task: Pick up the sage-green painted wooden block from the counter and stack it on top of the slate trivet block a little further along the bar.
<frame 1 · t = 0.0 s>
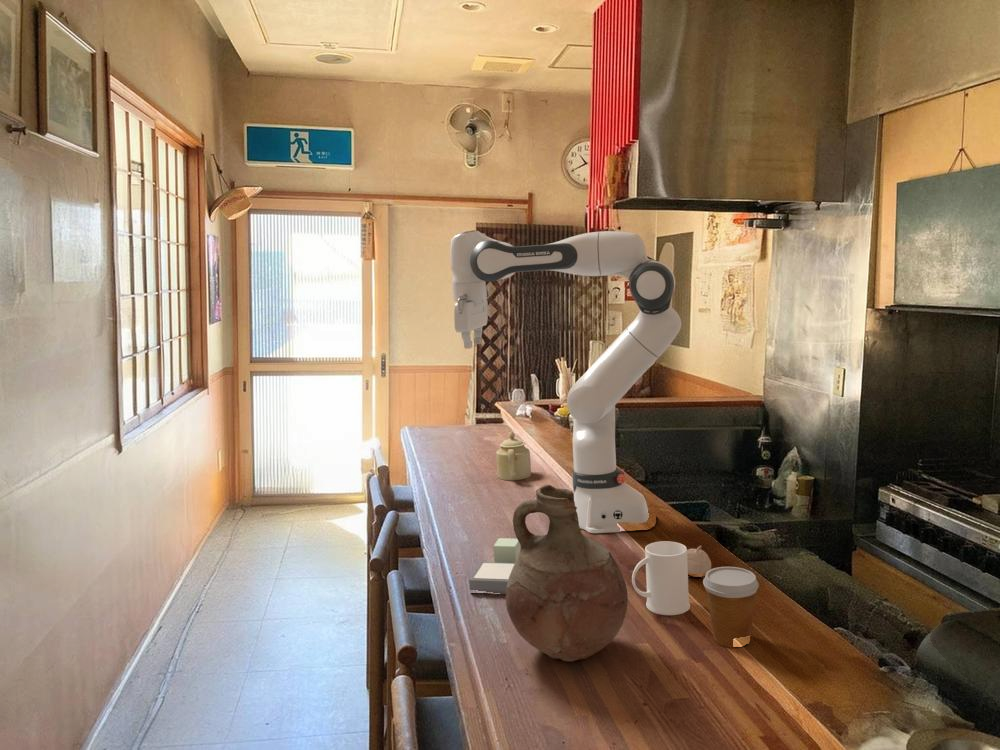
hand: (473, 346, 208), 48 cm above the worktop, fingers open, 8 cm apart
jug: (569, 652, 140), on the worktop
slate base: (498, 584, 171), on the worktop
sugar bowl: (516, 477, 255), on the worktop
green block: (508, 567, 180), on the worktop
garlic bulb: (696, 577, 169), on the worktop
mug: (660, 608, 155), on the worktop
disposable coffee cup: (732, 640, 140), on the worktop
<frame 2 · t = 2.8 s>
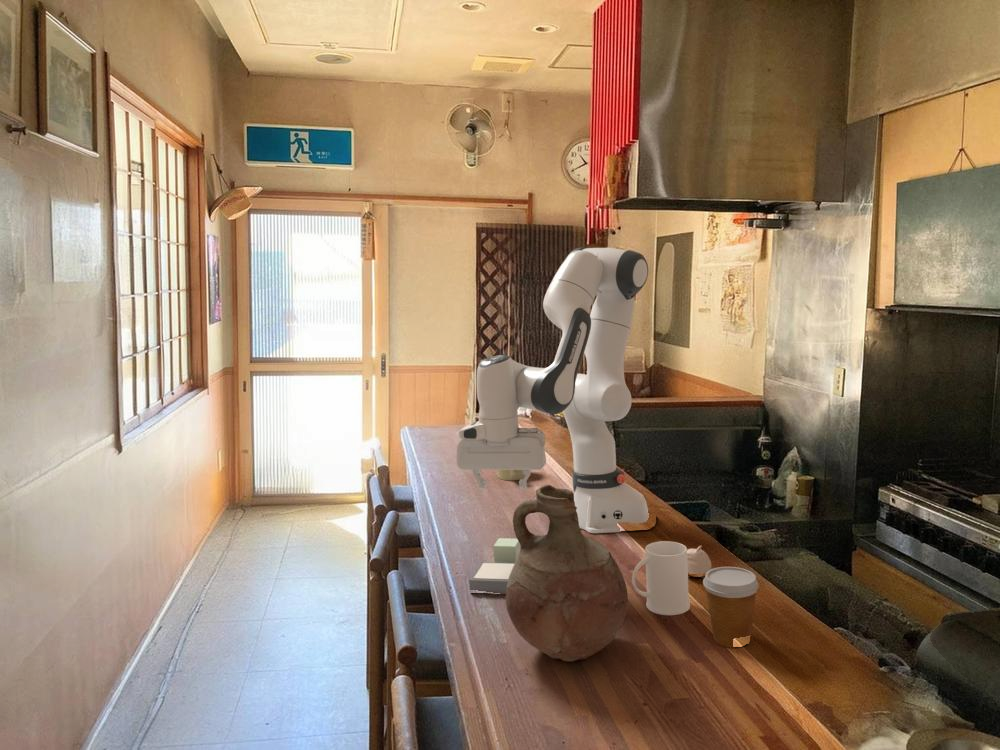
hand: (502, 487, 178), 19 cm above the worktop, fingers open, 8 cm apart
nothing on the worktop moved.
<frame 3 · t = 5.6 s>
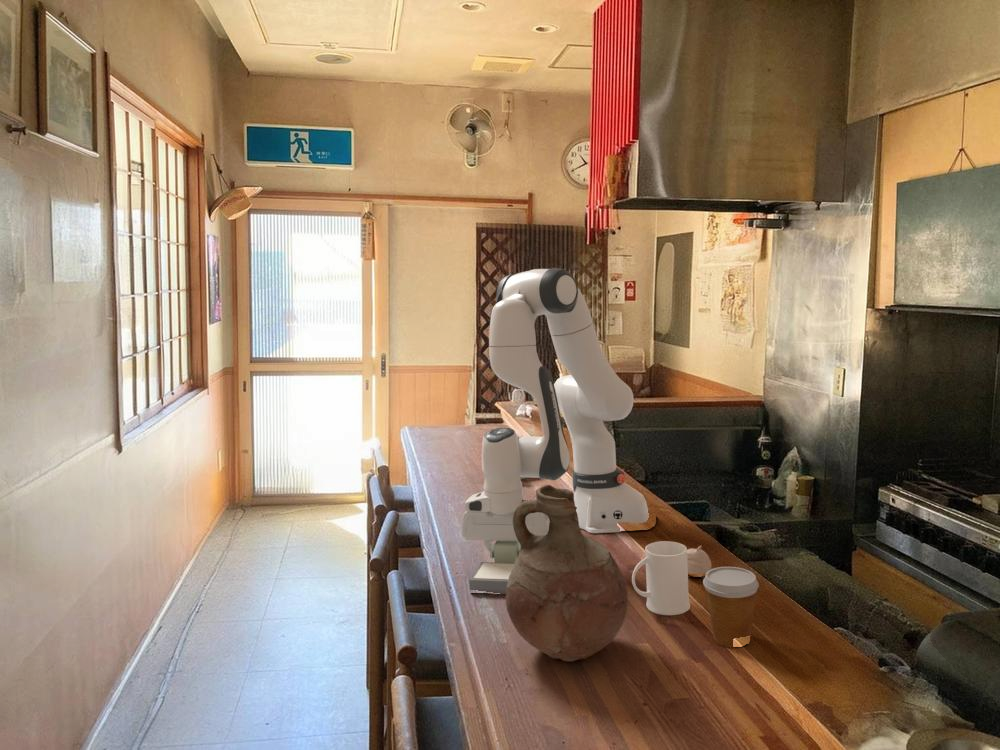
hand: (507, 558, 180), 2 cm above the worktop, fingers closed on green block, 5 cm apart
green block: (508, 566, 180), on the worktop, touching gripper
everything else where it was.
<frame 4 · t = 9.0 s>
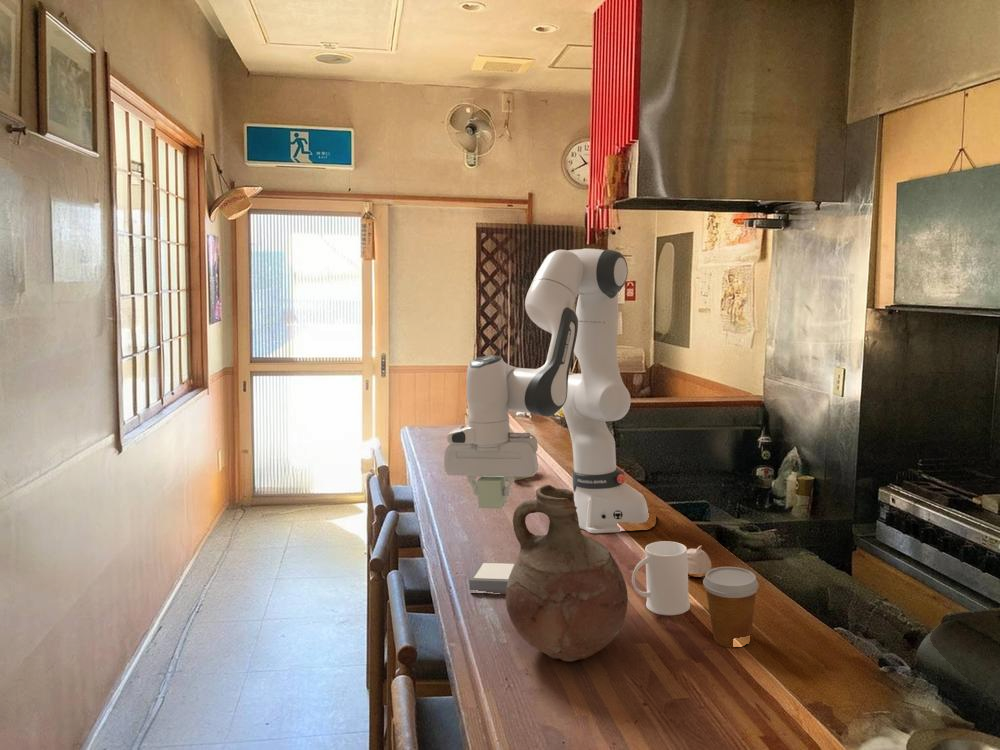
hand: (492, 495, 169), 20 cm above the worktop, fingers closed on green block, 5 cm apart
green block: (492, 504, 169), point 18 cm above the worktop, touching gripper
everything else where it was.
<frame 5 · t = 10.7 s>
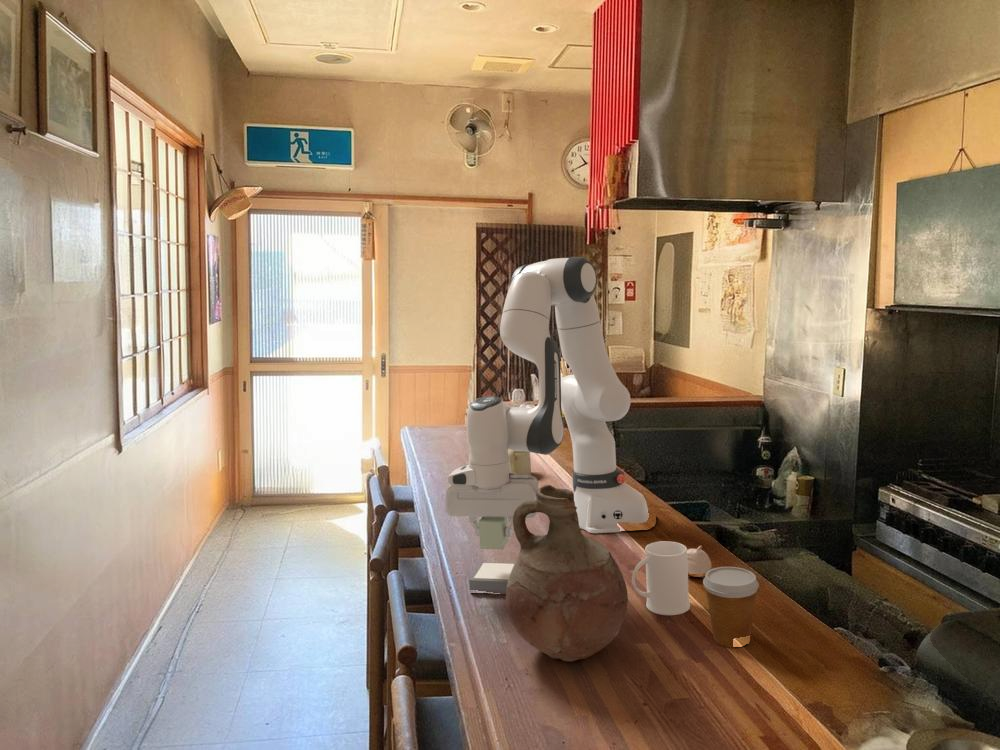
hand: (493, 535, 169), 11 cm above the worktop, fingers closed on green block, 5 cm apart
green block: (494, 544, 170), point 9 cm above the worktop, touching gripper
everything else where it was.
when the fingers open (7 cm above the worktop, at t = 12.4 s): green block drops 1 cm, resting on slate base.
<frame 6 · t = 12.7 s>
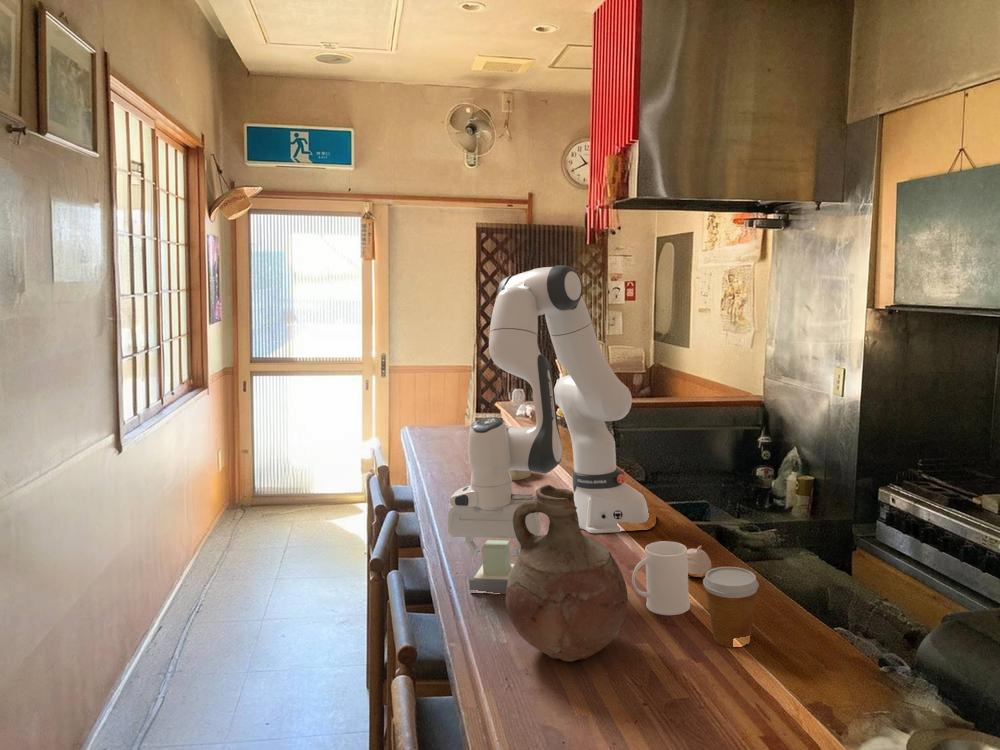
hand: (496, 555, 170), 7 cm above the worktop, fingers open, 8 cm apart
green block: (497, 570, 170), point 3 cm above the worktop, touching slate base
everything else where it was.
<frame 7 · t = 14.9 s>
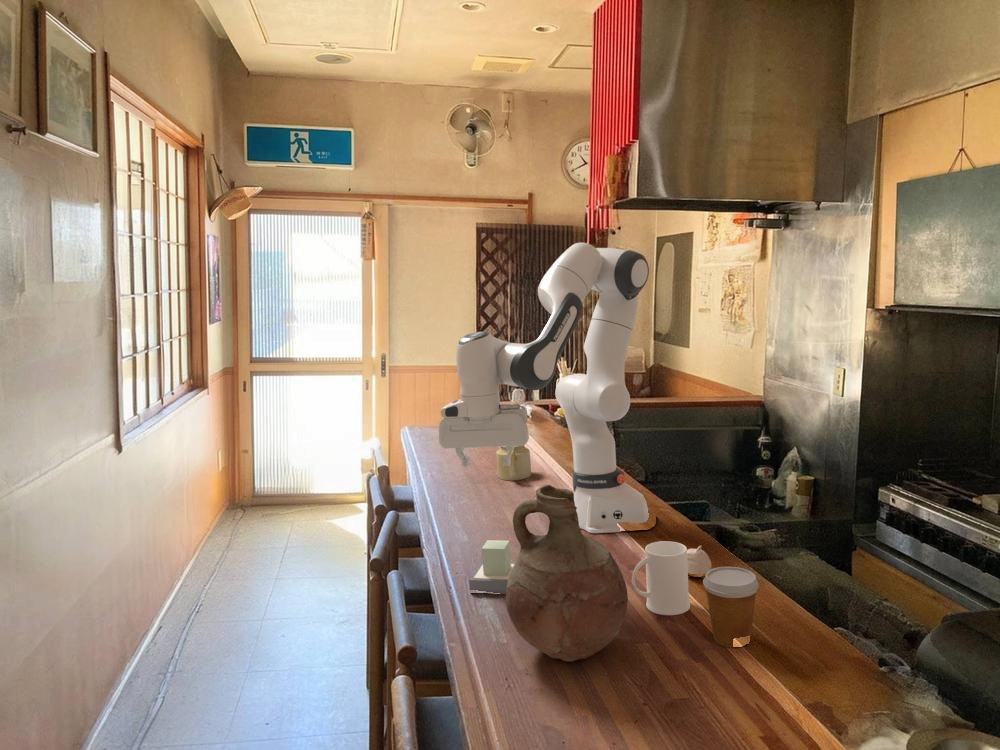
hand: (486, 465, 177), 24 cm above the worktop, fingers open, 8 cm apart
nothing on the worktop moved.
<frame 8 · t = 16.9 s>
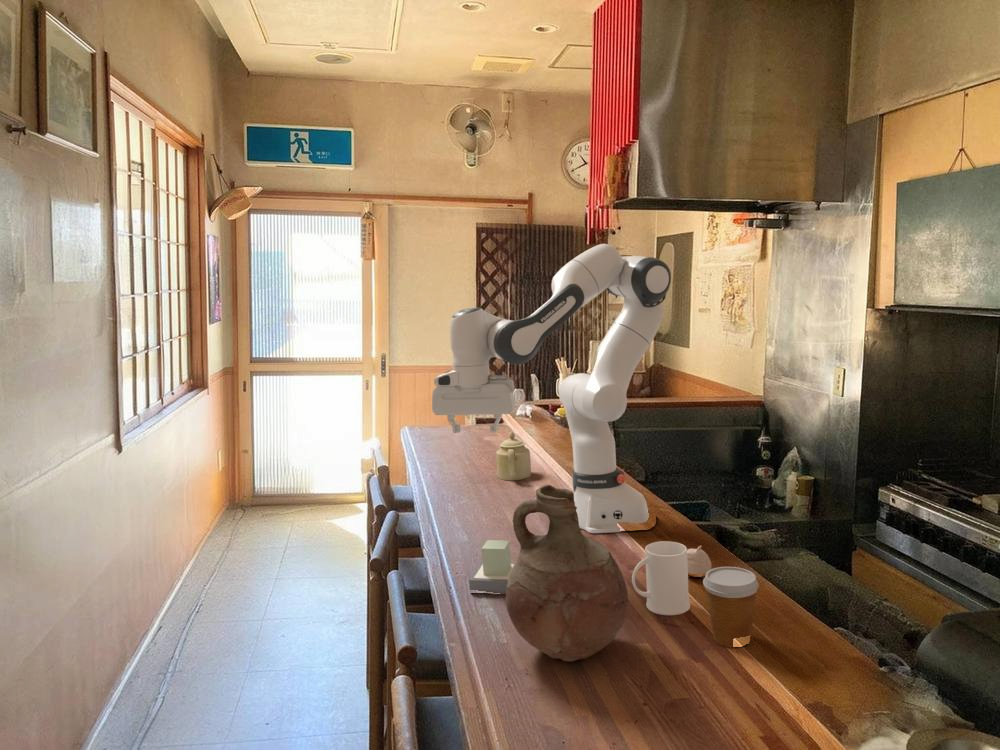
hand: (475, 432, 190), 29 cm above the worktop, fingers open, 8 cm apart
nothing on the worktop moved.
at the end: green block inside the target area on the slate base (0.1 cm from its centre), point 3.1 cm above the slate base's base; the gripper is holding nothing; green block touching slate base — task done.
